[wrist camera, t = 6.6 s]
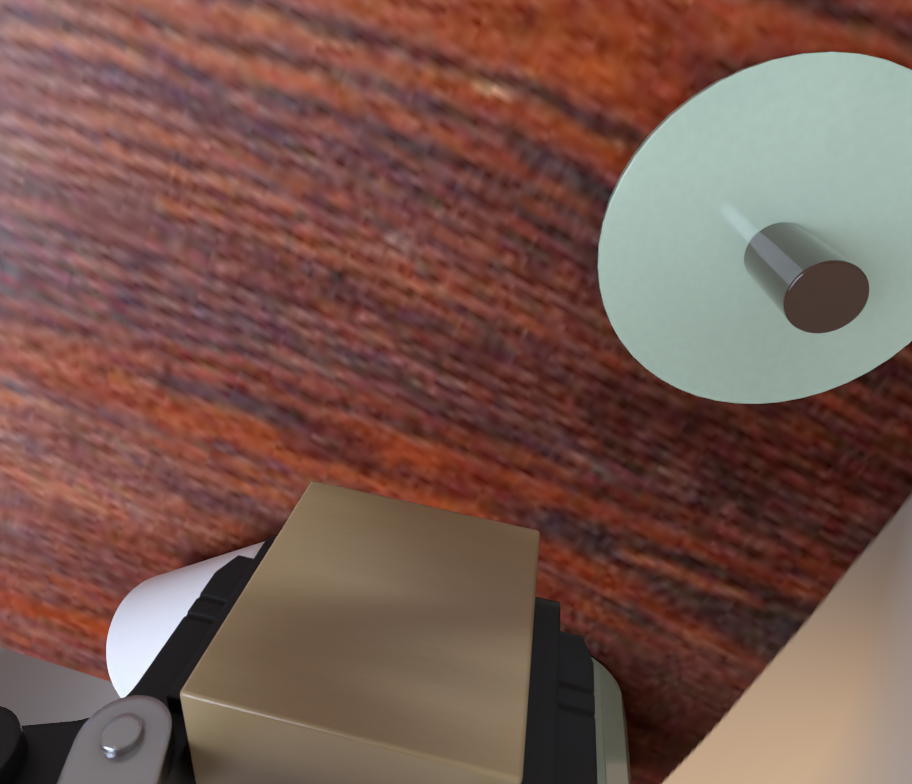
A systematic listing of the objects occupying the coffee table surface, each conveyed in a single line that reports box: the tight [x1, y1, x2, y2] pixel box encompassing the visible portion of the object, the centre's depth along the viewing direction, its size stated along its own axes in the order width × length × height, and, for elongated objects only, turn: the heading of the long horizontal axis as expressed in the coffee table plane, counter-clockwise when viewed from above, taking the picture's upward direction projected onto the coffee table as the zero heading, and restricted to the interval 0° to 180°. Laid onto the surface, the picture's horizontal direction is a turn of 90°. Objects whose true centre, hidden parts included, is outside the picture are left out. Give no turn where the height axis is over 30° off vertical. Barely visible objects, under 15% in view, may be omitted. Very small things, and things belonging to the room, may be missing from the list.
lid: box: [597, 51, 912, 404], centre depth 21 cm, size 13×13×6 cm
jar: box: [591, 657, 632, 784], centre depth 35 cm, size 12×12×10 cm
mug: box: [106, 541, 265, 698], centre depth 33 cm, size 8×10×12 cm
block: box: [180, 481, 540, 784], centre depth 10 cm, size 4×4×4 cm
